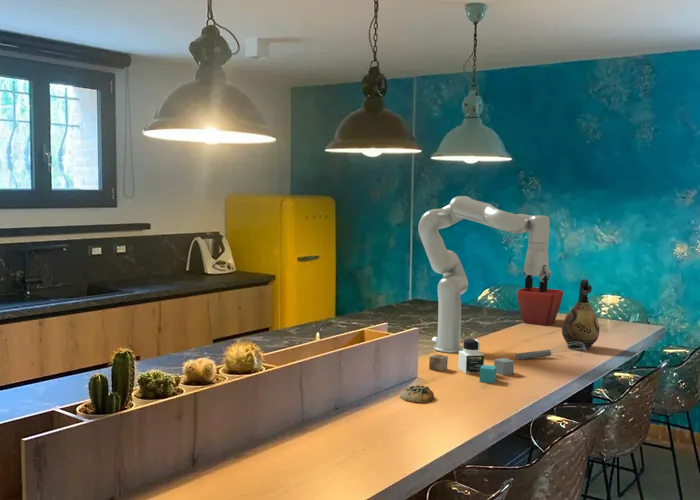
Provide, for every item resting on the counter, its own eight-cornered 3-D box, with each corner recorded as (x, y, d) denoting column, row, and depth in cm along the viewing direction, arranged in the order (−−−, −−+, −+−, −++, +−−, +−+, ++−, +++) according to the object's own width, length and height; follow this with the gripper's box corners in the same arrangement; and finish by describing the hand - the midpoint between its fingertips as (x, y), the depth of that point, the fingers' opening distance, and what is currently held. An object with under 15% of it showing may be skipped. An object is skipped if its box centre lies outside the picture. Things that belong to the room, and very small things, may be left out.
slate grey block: (493, 372, 255) (494, 359, 255) (503, 370, 257) (504, 357, 257) (503, 375, 251) (503, 362, 250) (513, 374, 253) (513, 360, 253)
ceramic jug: (601, 353, 288) (604, 283, 285) (562, 351, 291) (566, 281, 288) (595, 344, 305) (598, 277, 302) (559, 342, 308) (562, 276, 305)
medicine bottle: (466, 374, 251) (467, 342, 250) (457, 369, 258) (459, 337, 257) (483, 373, 253) (484, 341, 252) (475, 368, 260) (476, 337, 259)
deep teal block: (479, 381, 242) (480, 368, 242) (481, 378, 247) (482, 364, 246) (493, 383, 240) (494, 369, 240) (495, 379, 245) (496, 366, 244)
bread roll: (431, 392, 228) (431, 378, 226) (436, 407, 217) (436, 393, 216) (397, 393, 227) (397, 379, 226) (401, 408, 216) (401, 394, 215)
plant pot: (562, 322, 356) (564, 290, 355) (552, 327, 340) (553, 294, 339) (526, 317, 366) (528, 286, 365) (514, 323, 350) (516, 290, 349)
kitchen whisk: (508, 358, 277) (509, 343, 277) (580, 354, 287) (581, 340, 286) (516, 362, 271) (516, 346, 271) (589, 358, 281) (590, 343, 280)
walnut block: (429, 369, 257) (429, 356, 256) (435, 367, 261) (435, 354, 261) (441, 372, 254) (441, 358, 254) (447, 369, 258) (447, 356, 258)
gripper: (517, 244, 276) (515, 286, 278) (543, 249, 260) (540, 293, 262) (533, 244, 279) (531, 286, 280) (559, 249, 262) (557, 293, 264)
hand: (535, 289), depth 271 cm, fingers open, 9 cm apart
